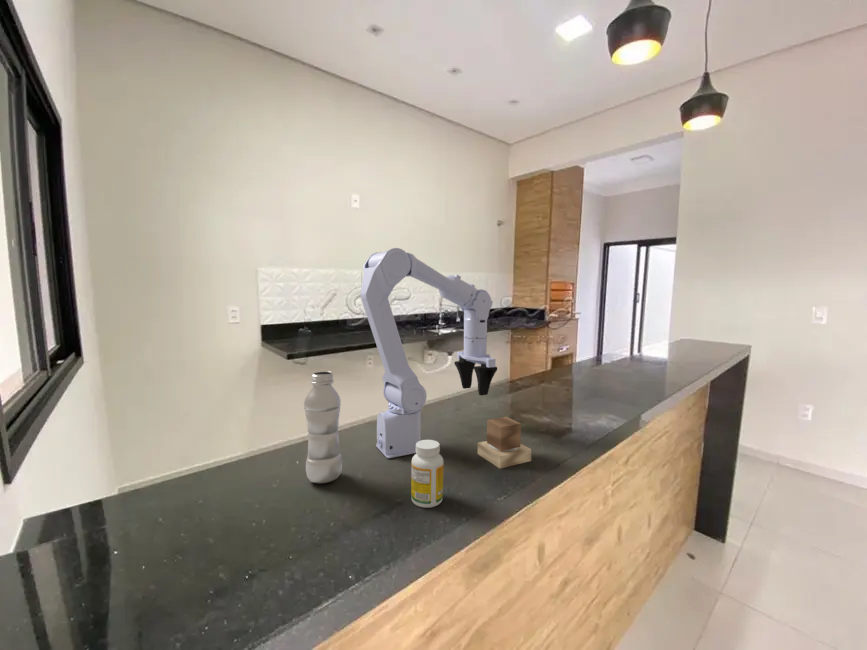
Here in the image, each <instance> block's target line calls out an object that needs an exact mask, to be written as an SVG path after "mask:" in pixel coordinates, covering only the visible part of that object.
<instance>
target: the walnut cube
mask: <svg viewBox="0 0 867 650" xmlns="http://www.w3.org/2000/svg"><path fill="white" fill-rule="evenodd" d="M521 430H522V423H521V422H518V421H517V420H514V419H512V418H510V417H508V416H502V417H498V418H497V417H496V418H490V419H487V420H486V441H487V443H488V444H490V445H492V446H493V447H495V448H497V449H498V450H500V451H504V450H508V449H513V448H517V447H521V444H522V443H521V441H522V440H521V438H522V437H521V436H522V431H521Z"/></svg>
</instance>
